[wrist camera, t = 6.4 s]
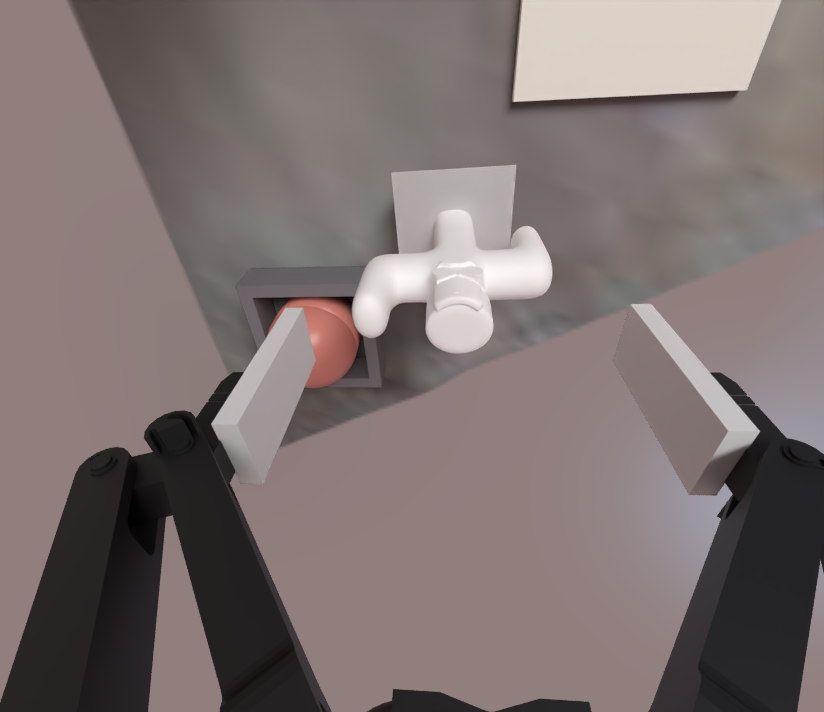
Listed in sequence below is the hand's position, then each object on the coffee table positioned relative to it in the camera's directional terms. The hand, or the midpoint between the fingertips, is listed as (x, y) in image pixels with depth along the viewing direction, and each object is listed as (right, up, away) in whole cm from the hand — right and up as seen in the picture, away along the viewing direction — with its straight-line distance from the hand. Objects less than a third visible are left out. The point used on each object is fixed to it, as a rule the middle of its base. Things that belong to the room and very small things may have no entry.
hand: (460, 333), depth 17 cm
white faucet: (+1, +9, +12) cm, 15 cm away
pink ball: (-10, +3, +19) cm, 21 cm away
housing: (-10, +2, +18) cm, 21 cm away
